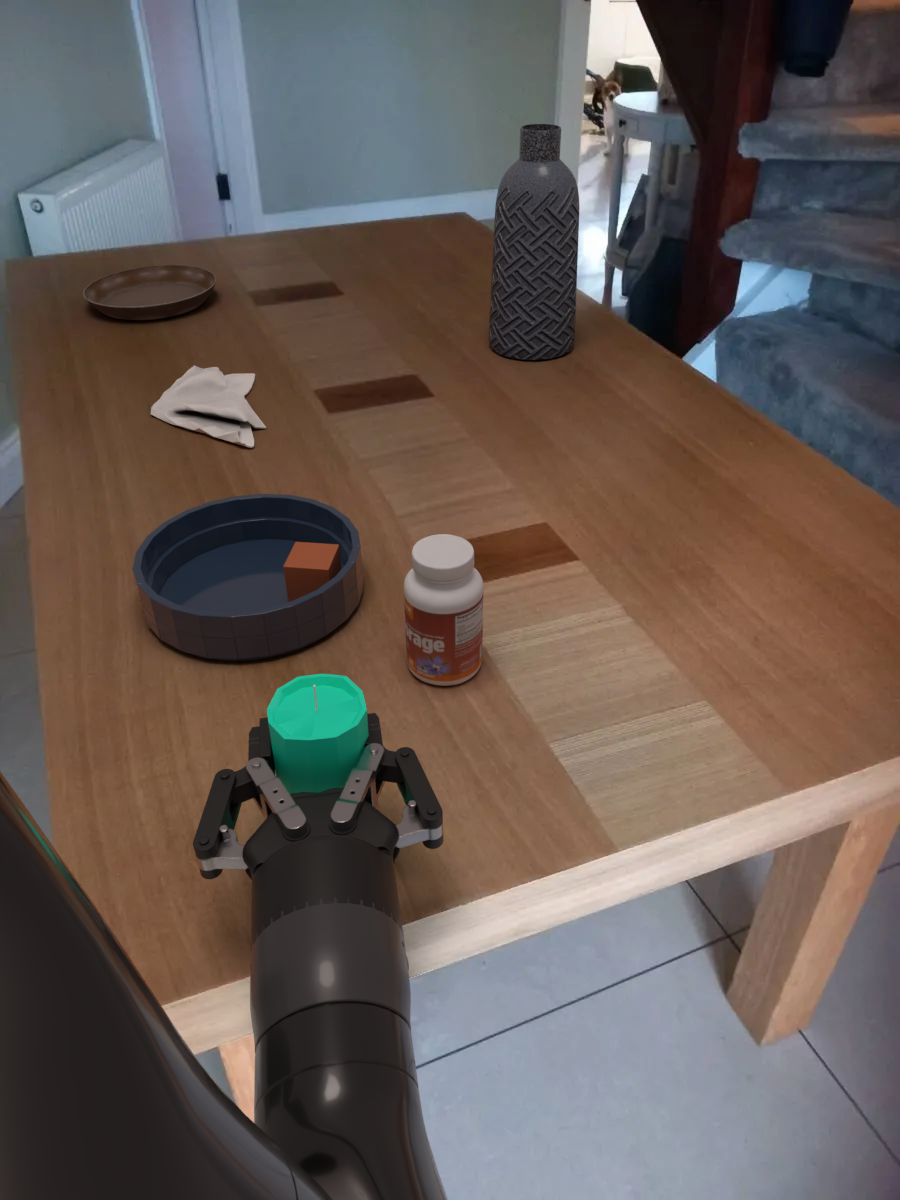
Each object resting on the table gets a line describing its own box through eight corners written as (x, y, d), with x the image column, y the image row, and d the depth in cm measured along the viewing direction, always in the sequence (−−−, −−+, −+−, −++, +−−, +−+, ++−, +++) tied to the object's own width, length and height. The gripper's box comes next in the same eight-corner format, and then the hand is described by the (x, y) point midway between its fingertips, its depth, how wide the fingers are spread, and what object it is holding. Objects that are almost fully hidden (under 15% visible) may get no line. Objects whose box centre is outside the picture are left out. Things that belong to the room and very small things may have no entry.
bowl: (110, 658, 76) (95, 609, 73) (187, 533, 92) (178, 489, 89) (340, 671, 74) (335, 622, 71) (379, 542, 90) (376, 498, 87)
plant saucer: (79, 331, 138) (74, 309, 136) (94, 289, 155) (89, 269, 153) (219, 320, 141) (215, 299, 139) (219, 280, 158) (216, 260, 156)
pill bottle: (391, 662, 75) (383, 549, 69) (446, 630, 79) (444, 519, 72) (442, 700, 72) (439, 583, 65) (498, 664, 75) (501, 550, 68)
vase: (487, 361, 127) (490, 136, 110) (489, 330, 137) (493, 118, 120) (575, 363, 126) (592, 136, 110) (571, 331, 136) (586, 118, 119)
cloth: (155, 373, 125) (151, 357, 124) (257, 364, 127) (255, 348, 126) (147, 460, 104) (143, 442, 103) (269, 447, 107) (266, 429, 105)
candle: (321, 779, 64) (306, 642, 57) (392, 813, 61) (385, 674, 55) (264, 837, 60) (240, 696, 53) (338, 876, 57) (323, 734, 50)
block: (288, 604, 81) (282, 566, 79) (300, 578, 84) (295, 541, 82) (332, 607, 80) (328, 569, 78) (342, 581, 84) (339, 544, 81)
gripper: (473, 887, 44) (424, 663, 57) (163, 932, 42) (188, 690, 55) (473, 977, 48) (427, 749, 62) (192, 1021, 46) (209, 777, 60)
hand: (314, 722), depth 58 cm, fingers closed on candle, 5 cm apart
